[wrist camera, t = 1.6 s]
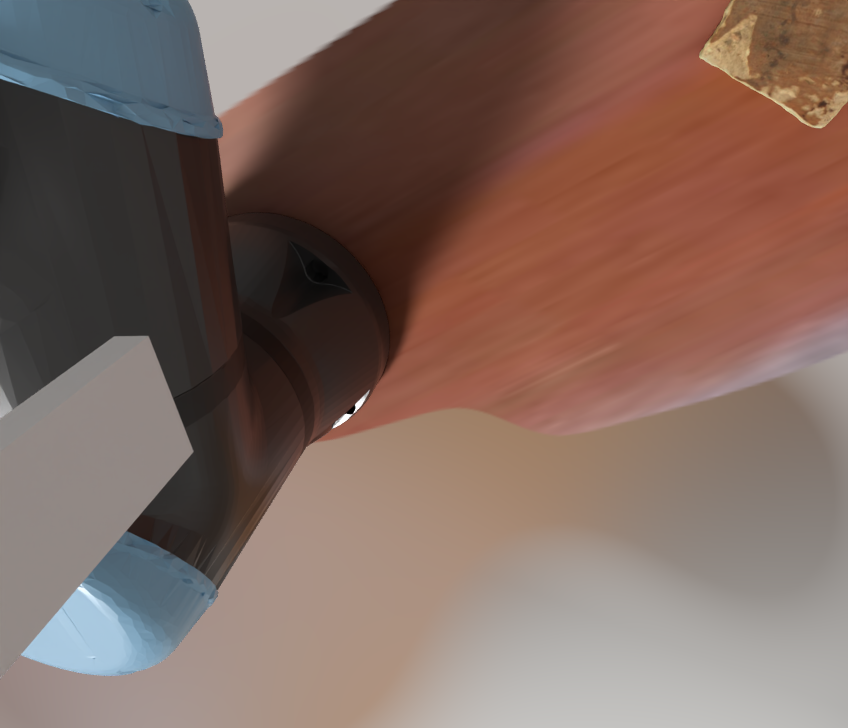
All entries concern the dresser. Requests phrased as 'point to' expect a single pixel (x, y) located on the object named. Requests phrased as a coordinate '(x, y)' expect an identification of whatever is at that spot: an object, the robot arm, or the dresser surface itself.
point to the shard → (787, 53)
